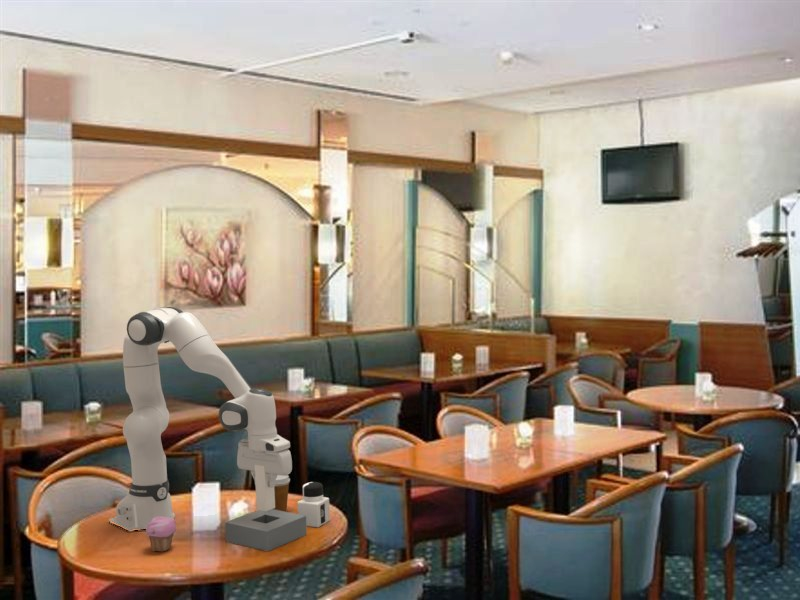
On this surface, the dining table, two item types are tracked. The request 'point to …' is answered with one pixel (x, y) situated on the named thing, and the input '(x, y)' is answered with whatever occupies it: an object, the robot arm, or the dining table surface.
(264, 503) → the peg
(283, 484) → the disposable coffee cup
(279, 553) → the dining table surface
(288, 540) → the well block
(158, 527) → the cupcake
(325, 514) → the container
